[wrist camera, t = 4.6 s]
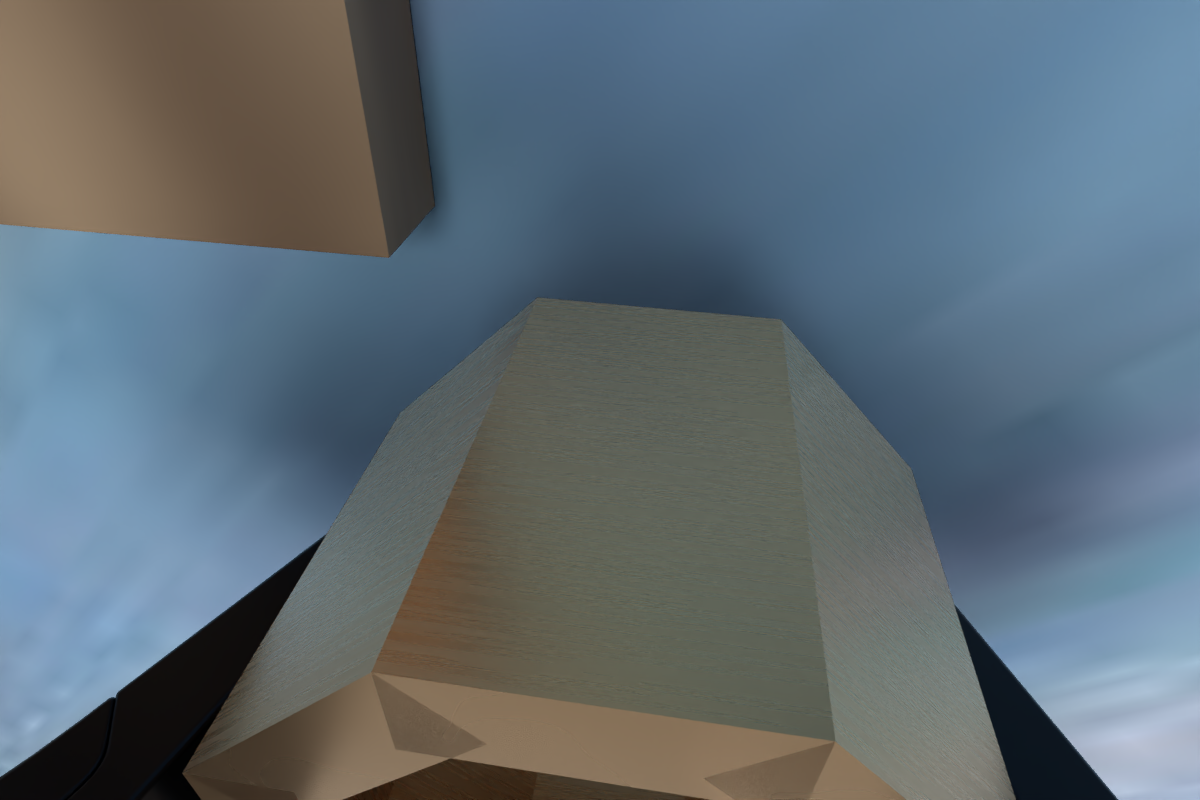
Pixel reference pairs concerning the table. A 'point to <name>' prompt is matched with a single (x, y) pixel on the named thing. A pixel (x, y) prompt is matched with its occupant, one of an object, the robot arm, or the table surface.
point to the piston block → (215, 121)
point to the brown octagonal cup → (618, 591)
